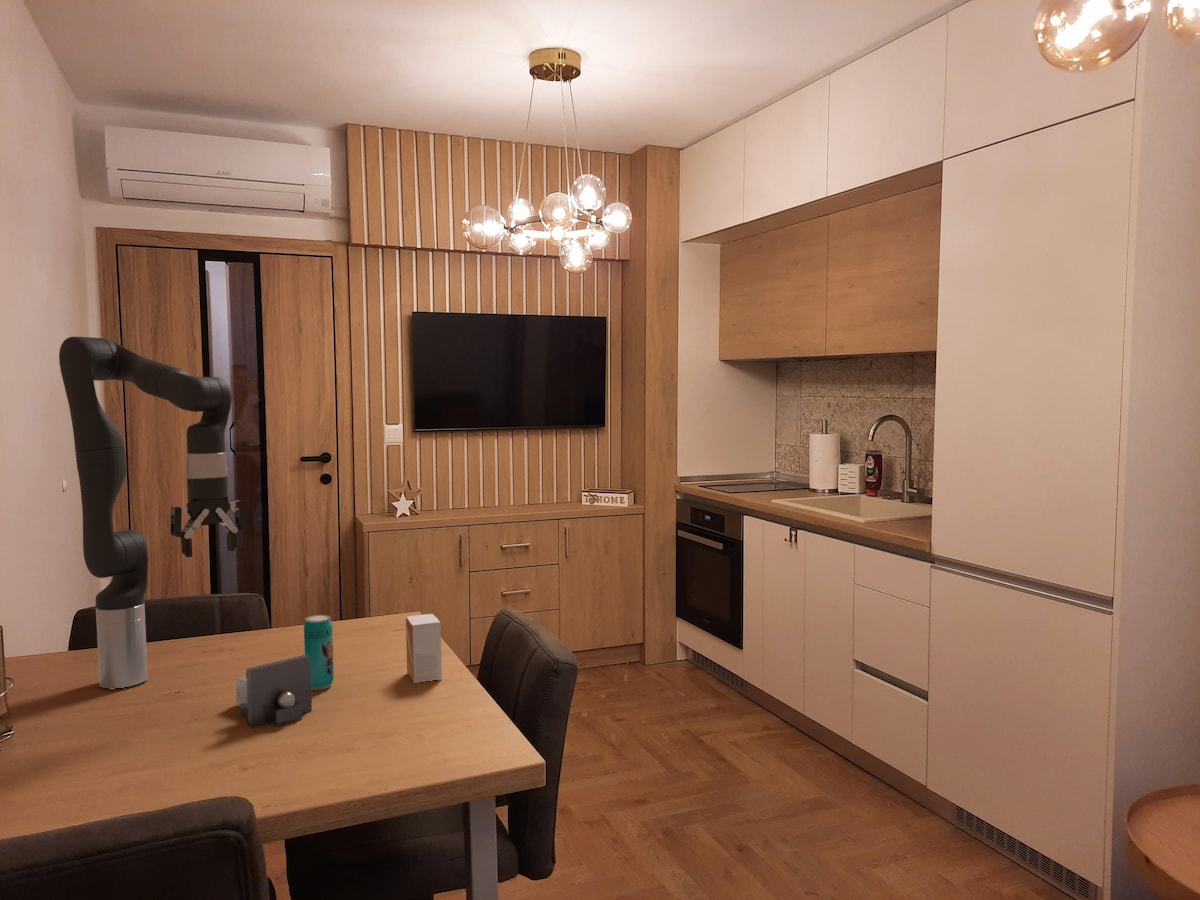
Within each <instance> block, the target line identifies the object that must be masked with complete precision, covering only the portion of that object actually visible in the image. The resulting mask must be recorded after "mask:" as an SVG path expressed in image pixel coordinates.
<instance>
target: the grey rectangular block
mask: <svg viewBox="0 0 1200 900" xmlns="http://www.w3.org/2000/svg"><path fill="white" fill-rule="evenodd" d="M235 687H236V688H235V690H236V692H235V693H236V706H237V707H239V708H240V704H243V703H246V704H247V679H246V674H243V675H240V676H236V677H235Z"/></svg>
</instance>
